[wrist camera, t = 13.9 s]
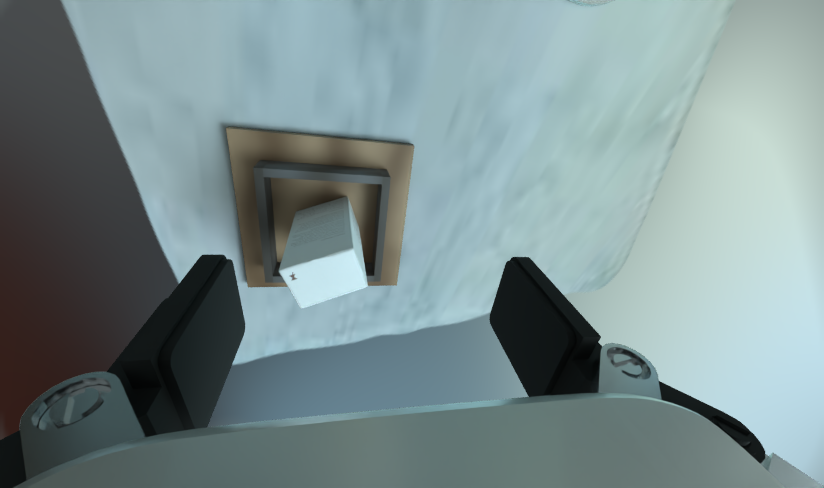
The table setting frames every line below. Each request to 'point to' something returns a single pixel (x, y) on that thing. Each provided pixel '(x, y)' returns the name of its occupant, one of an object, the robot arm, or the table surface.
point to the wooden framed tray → (317, 195)
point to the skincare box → (323, 254)
